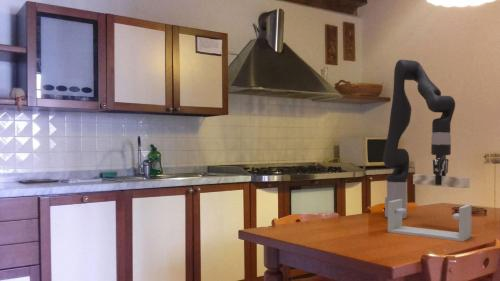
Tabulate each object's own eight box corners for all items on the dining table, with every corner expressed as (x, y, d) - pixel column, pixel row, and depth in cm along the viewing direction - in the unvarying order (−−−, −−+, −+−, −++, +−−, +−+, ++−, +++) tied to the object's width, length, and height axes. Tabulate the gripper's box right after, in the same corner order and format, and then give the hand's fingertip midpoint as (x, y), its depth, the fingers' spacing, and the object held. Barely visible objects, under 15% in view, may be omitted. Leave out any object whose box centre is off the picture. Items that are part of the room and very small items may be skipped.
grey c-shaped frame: (387, 232, 186) (387, 201, 186) (398, 228, 195) (398, 199, 196) (463, 241, 169) (463, 208, 169) (471, 236, 178) (471, 204, 179)
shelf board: (413, 183, 202) (413, 174, 202) (419, 183, 205) (419, 174, 205) (463, 188, 185) (463, 178, 185) (469, 187, 188) (469, 177, 188)
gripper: (436, 143, 203) (436, 182, 203) (426, 143, 192) (425, 184, 192) (455, 143, 199) (454, 183, 199) (445, 143, 187) (445, 186, 187)
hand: (440, 184), depth 195 cm, fingers closed on shelf board, 5 cm apart
